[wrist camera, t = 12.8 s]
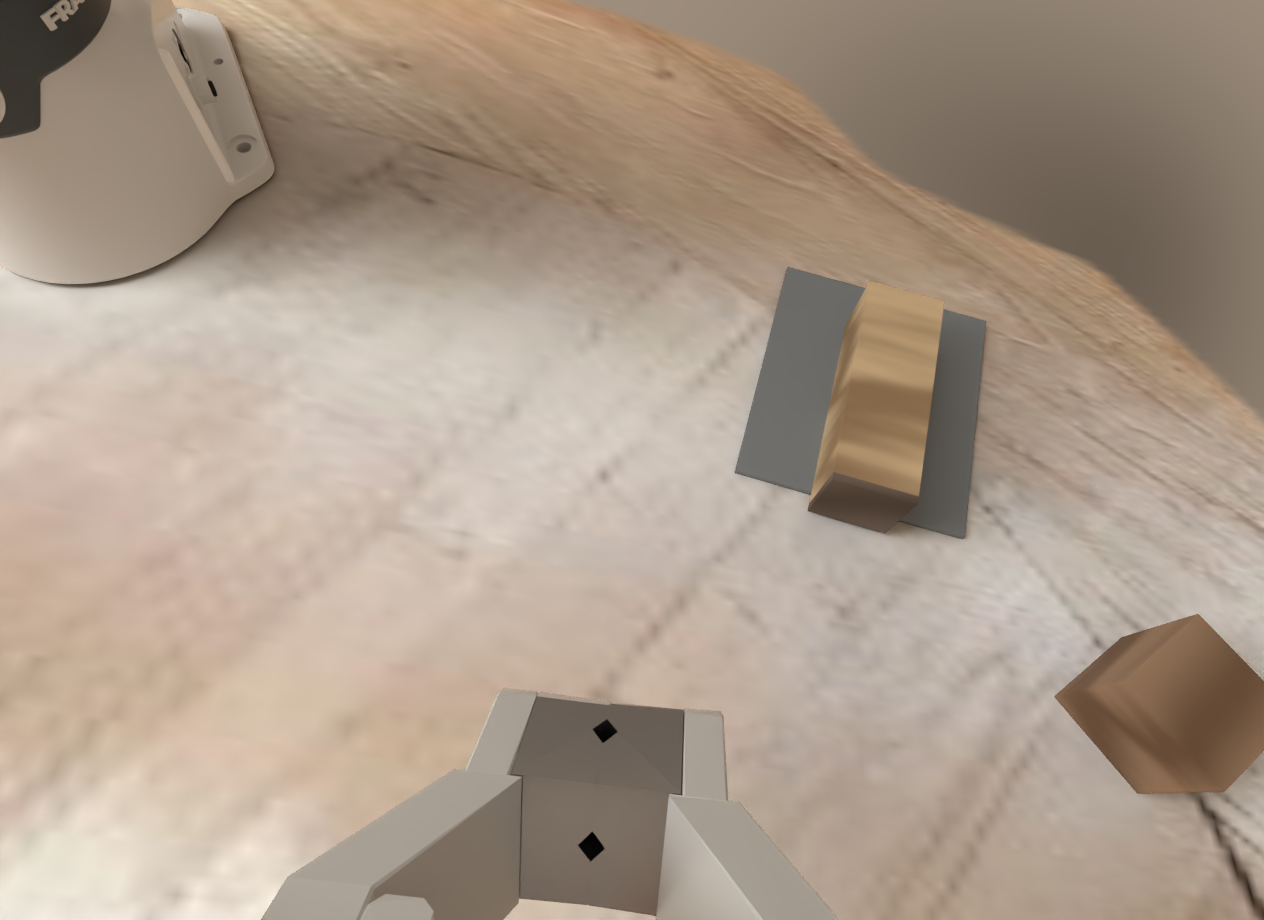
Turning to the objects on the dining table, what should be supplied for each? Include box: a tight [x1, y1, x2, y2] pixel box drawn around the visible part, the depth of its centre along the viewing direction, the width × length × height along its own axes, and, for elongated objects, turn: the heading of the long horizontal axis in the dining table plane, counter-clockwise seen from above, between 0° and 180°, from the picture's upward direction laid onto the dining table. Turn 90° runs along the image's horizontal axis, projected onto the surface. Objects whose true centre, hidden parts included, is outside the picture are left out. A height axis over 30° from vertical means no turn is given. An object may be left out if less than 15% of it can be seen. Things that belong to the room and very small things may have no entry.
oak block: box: [808, 281, 945, 533], centre depth 38 cm, size 4×4×12 cm
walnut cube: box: [1054, 614, 1264, 793], centre depth 32 cm, size 5×5×5 cm
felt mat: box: [735, 267, 986, 539], centre depth 41 cm, size 14×12×1 cm
